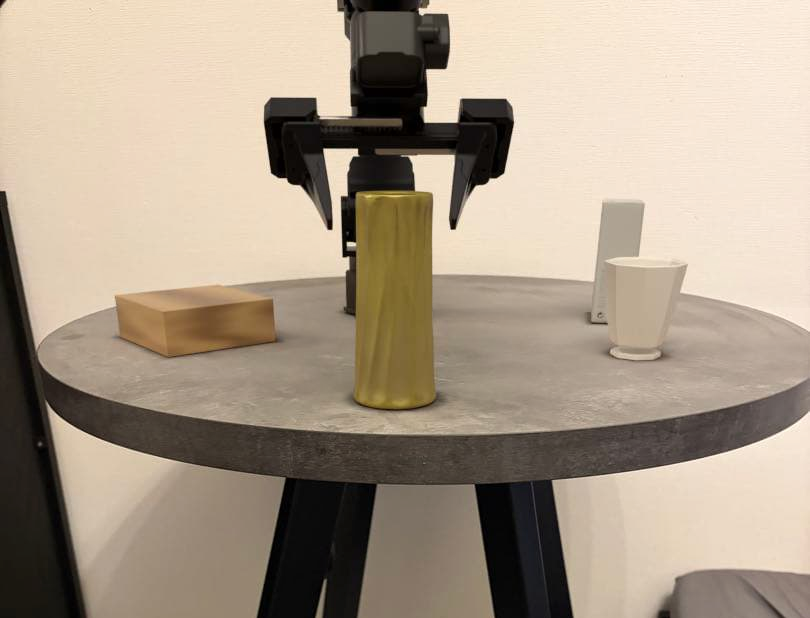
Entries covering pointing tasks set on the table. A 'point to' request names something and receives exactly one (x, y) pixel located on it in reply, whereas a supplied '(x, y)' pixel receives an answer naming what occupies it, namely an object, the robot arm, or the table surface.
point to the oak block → (195, 319)
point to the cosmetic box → (615, 244)
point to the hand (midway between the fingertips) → (391, 226)
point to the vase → (394, 300)
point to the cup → (641, 303)
